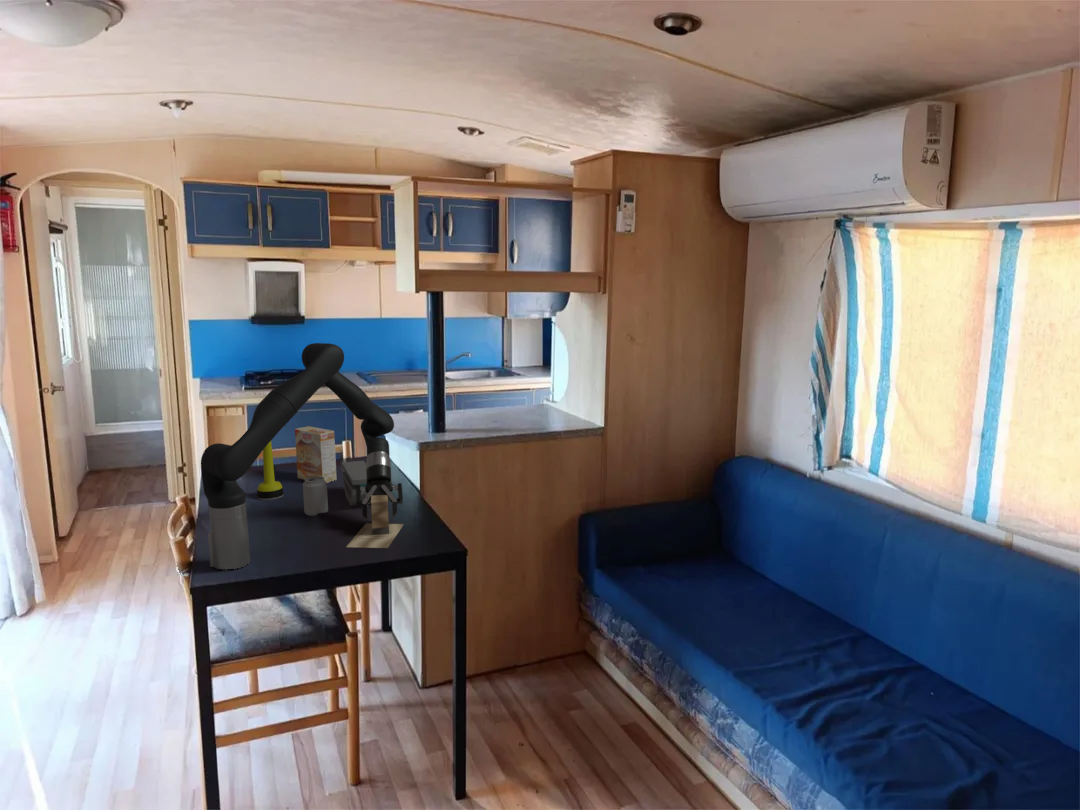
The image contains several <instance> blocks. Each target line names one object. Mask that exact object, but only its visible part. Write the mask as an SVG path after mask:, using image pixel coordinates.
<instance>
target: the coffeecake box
mask: <svg viewBox="0 0 1080 810" xmlns="http://www.w3.org/2000/svg"><path fill="white" fill-rule="evenodd" d="M294 435H295V436H294V438H295V452H296V453H295V454H296V469H297V470H296V471H297V473H296V474H297V479H300V480H303V481H305V479H306V478H309V477H315V476H319V477H324V478H325V479H324V480H325V481H326V482H327V484H329V483H330V482H331V481H332V482H335V481H337V480H338V479H337V461H336V443H335V442H336V441H335V430H331V429H325V428H322V427H321V428H320V427H314V426H310V425H307V426H303V427H297V428H295V429H294ZM334 480H335V481H334Z"/></svg>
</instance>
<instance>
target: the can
mask: <svg viewBox="0 0 1080 810" xmlns="http://www.w3.org/2000/svg"><path fill="white" fill-rule="evenodd" d="M324 479H325V478H324V477H319V476H315V477H309V478H306V479H305V480H304V482H303V483H302V493H303V495H302V496H303V509H304V510H303V511H304V514H305V515H307V516H309V517H318V514H322V513H328V512H329V504H328V503H329V501H328V499H329V498H328V483H327V482H326V481H325V480H324Z"/></svg>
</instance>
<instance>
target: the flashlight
mask: <svg viewBox="0 0 1080 810" xmlns="http://www.w3.org/2000/svg"><path fill="white" fill-rule="evenodd" d="M273 458H274V456H273V446H272V440H271V441H270V442H269V443H268V445H267V446H266V447H265V448H264V449H263V451H262V463H263V481H262V482H260V483H259V484H258V486H257V489H256V498H257V499H258V500H262V501H270V500H276V499H280V498H282V497H283V496H285V493H284V488H283V485H282V483H281V482H280V481H279V480H278V481H277V480H275V479H276V478H275V471H276V468H275V466H274V459H273Z"/></svg>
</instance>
